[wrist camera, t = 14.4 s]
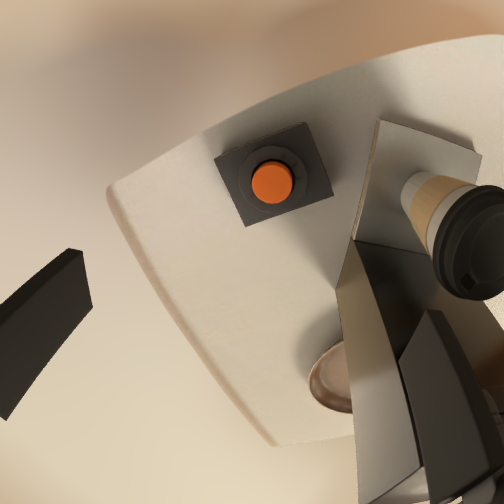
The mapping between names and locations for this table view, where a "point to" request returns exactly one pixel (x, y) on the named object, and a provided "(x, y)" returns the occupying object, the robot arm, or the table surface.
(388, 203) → the coffee maker
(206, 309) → the table surface
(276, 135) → the control block
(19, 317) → the robot arm
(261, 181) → the button
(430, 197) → the coffee cup
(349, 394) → the plant saucer
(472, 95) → the table surface
